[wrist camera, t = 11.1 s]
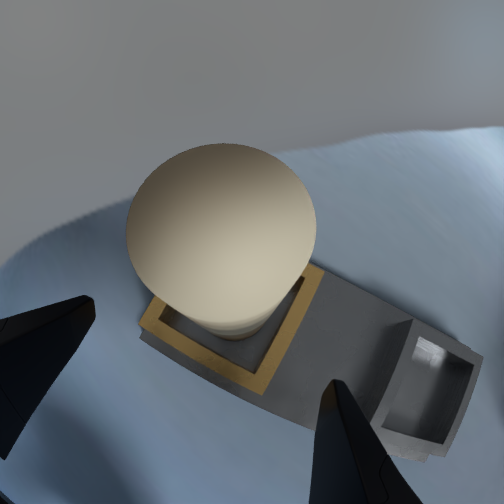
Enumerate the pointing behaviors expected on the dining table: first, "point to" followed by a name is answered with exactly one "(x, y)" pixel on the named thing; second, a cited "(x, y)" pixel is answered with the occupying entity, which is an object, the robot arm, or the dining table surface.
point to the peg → (221, 236)
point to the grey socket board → (334, 362)
